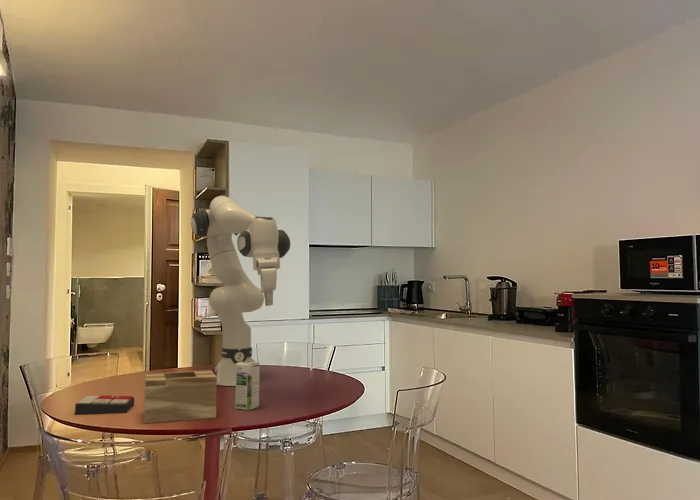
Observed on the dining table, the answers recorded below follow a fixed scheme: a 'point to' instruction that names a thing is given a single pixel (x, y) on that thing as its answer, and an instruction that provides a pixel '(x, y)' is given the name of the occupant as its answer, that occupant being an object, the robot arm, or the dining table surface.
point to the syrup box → (247, 385)
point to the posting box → (179, 396)
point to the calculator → (104, 405)
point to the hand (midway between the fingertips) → (269, 305)
